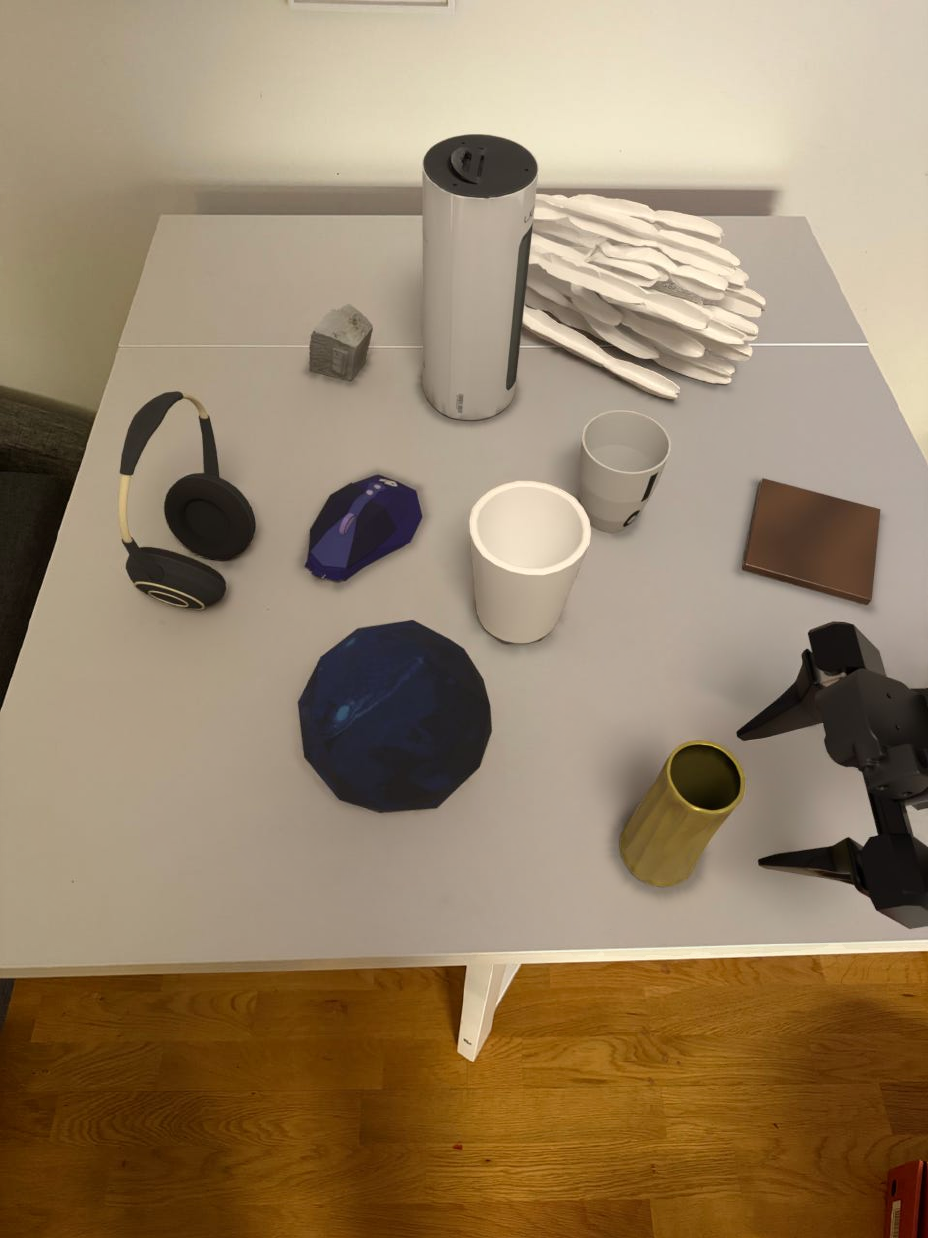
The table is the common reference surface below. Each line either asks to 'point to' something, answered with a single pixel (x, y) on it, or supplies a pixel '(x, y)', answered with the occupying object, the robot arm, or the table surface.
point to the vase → (682, 812)
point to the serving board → (813, 541)
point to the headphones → (185, 517)
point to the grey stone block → (340, 343)
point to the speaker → (475, 270)
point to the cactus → (638, 289)
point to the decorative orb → (395, 718)
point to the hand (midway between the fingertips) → (749, 797)
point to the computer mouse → (362, 526)
